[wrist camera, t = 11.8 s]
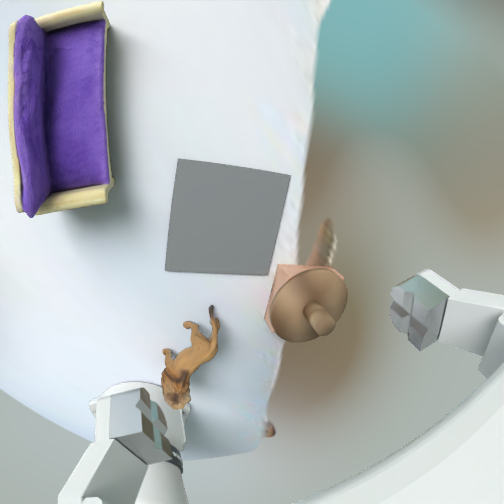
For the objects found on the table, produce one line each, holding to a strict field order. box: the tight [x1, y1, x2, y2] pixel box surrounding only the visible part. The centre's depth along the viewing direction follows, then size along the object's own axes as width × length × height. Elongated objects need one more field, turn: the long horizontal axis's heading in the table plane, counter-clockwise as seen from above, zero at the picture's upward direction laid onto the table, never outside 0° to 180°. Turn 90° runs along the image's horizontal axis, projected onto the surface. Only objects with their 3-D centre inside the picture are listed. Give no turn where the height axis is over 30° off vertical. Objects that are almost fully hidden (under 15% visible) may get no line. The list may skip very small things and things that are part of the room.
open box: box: [264, 264, 344, 332], centre depth 44 cm, size 9×9×4 cm
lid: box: [269, 268, 347, 342], centre depth 40 cm, size 12×12×5 cm
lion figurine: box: [161, 305, 220, 410], centre depth 39 cm, size 15×5×9 cm, turn 145°
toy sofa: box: [8, 1, 115, 218], centre depth 22 cm, size 21×9×10 cm, turn 0°
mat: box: [165, 159, 290, 275], centre depth 37 cm, size 14×14×1 cm
